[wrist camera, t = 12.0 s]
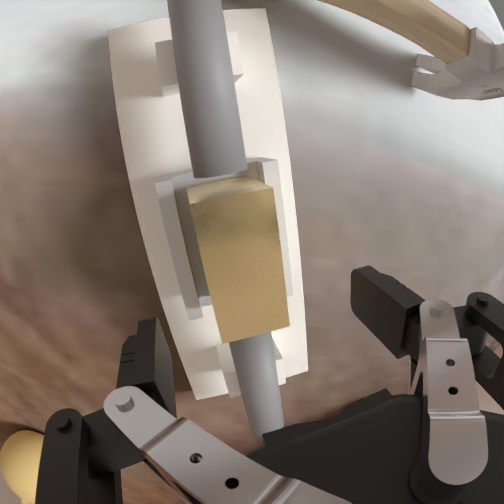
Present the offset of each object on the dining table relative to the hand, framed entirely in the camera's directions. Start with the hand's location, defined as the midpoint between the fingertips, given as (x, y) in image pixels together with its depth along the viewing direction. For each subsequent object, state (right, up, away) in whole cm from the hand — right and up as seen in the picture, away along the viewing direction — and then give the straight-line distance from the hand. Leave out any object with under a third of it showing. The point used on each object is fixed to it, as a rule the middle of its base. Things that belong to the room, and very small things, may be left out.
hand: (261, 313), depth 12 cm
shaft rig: (-3, +5, +13) cm, 14 cm away
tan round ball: (-29, -25, +17) cm, 42 cm away
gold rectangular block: (-2, +3, +9) cm, 10 cm away
